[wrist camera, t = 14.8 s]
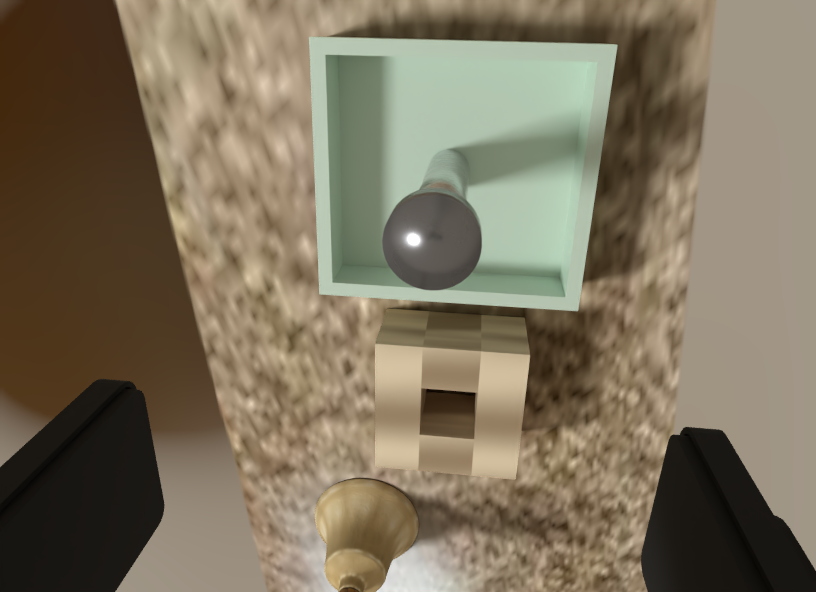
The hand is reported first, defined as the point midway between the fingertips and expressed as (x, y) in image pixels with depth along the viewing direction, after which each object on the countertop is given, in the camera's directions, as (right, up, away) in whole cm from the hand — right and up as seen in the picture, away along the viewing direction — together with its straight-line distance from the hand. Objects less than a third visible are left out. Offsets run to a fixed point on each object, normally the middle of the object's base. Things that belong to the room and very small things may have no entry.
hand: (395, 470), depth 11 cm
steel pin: (+3, +10, +24) cm, 27 cm away
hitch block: (+3, -2, +31) cm, 31 cm away
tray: (+3, +11, +25) cm, 28 cm away
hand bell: (-3, -14, +37) cm, 40 cm away
